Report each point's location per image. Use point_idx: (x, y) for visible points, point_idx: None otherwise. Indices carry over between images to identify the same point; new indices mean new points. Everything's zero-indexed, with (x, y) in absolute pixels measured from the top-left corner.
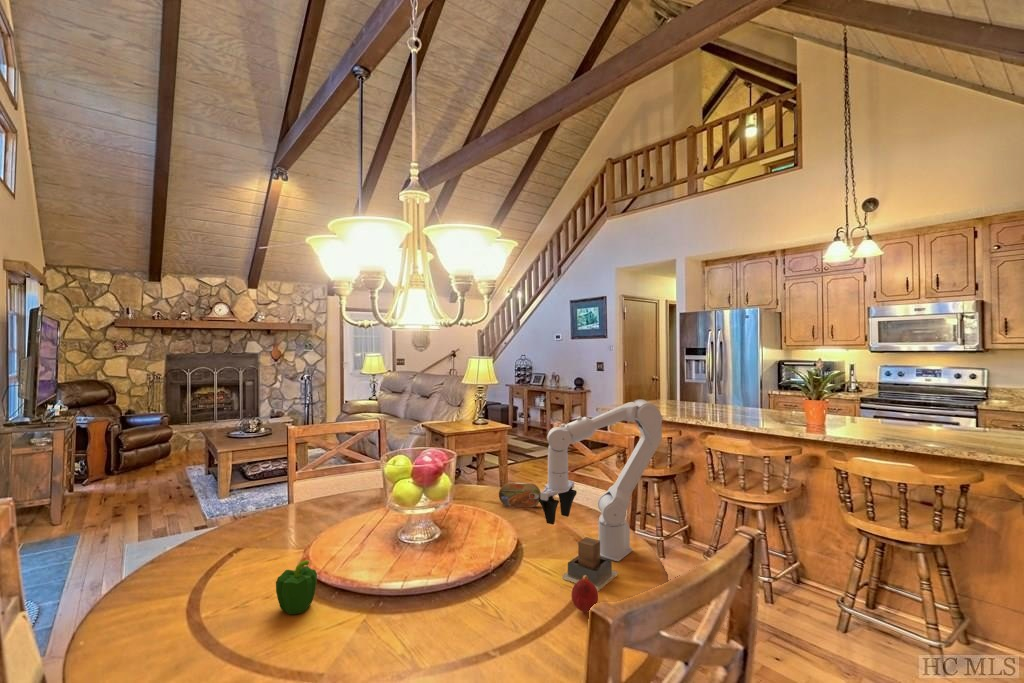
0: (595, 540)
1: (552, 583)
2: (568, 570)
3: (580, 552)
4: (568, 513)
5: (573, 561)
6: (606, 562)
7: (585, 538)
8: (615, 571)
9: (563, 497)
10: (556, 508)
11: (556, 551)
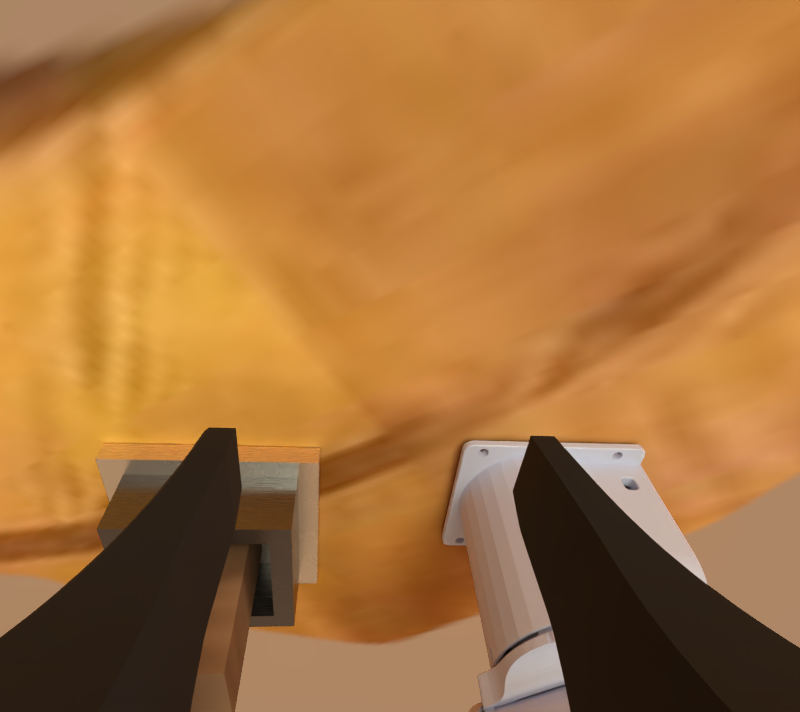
0: (214, 709)
1: (21, 429)
2: (115, 494)
3: None
4: (521, 528)
5: None
6: (254, 622)
7: (196, 679)
8: (314, 579)
9: (619, 671)
10: (191, 703)
11: (394, 265)
